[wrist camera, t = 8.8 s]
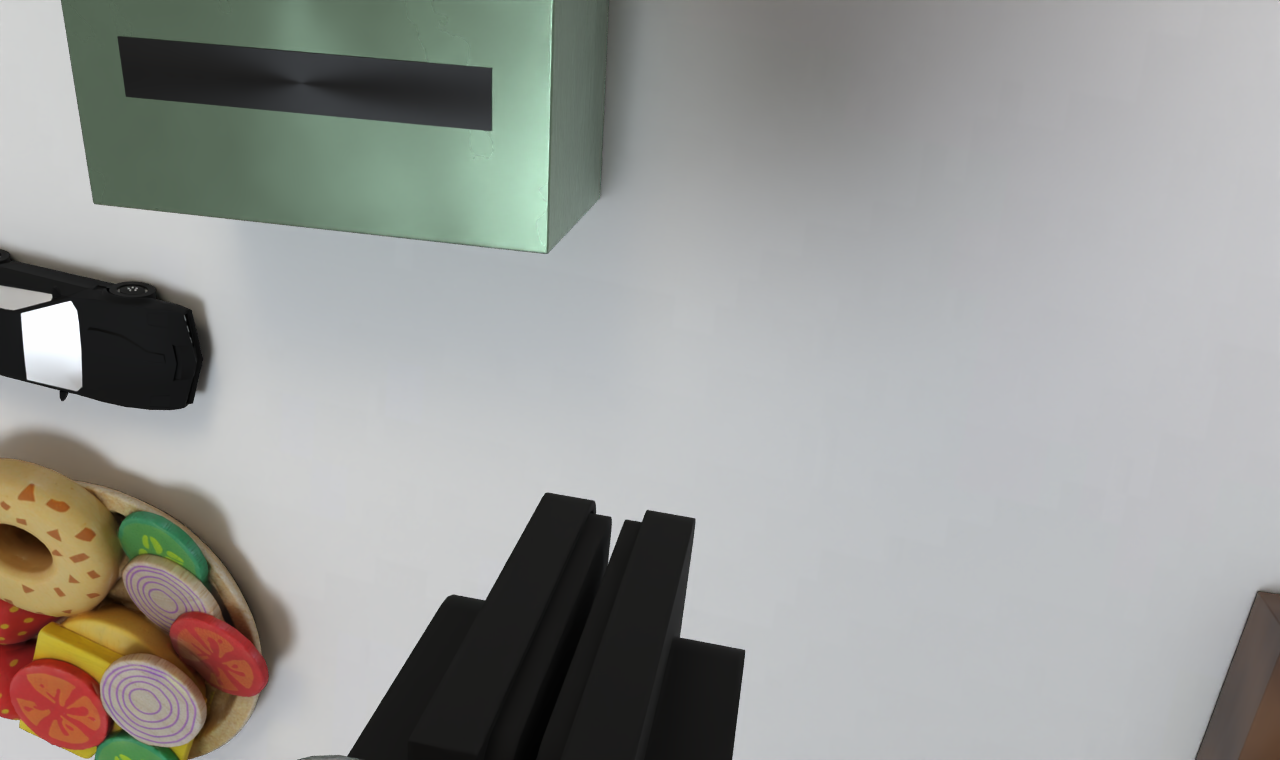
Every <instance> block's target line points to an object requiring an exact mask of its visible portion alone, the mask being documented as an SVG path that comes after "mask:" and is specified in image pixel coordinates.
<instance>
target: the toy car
mask: <svg viewBox="0 0 1280 760" xmlns="http://www.w3.org/2000/svg"><path fill="white" fill-rule="evenodd" d="M202 361H203V357H202V352H201V348H200V344H199V340H198V336H197V331H196V327H195V323H194V319H193V314H192V310H190V309H188V308H186V307H183V306H180V305H177V304H173V303H169V302H165V301H161V300H157V299H156V289H155V287H154V286H152V285H150V284H147V283H142V282H122V283H117V284H113V283H108V282H104V281H100V280H95V279H91V278H87V277H82V276H78V275H74V274H69V273H65V272H60V271H56V270H52V269H47V268H43V267H38V266H34V265H30V264H25V263H21V262H17V261H10V254H9V253H8V252H6V251H4V250H1V249H0V375H2V376H6V377H9V378H13V379H17V380H21V381H25V382H29V383H33V384H37V385H41V386H45V387H49V388H53V389H56V390H60V399H61V401H64V400H65V399H66V397H67V395H68V392H69V393H73V394H78V395H81V396H84V397H88V398H91V399H95V400H98V401H102V402H106V403H111V404H115V405H120V406H124V407H132V408H140V409H148V410H175V409H181V408H185V407H186V406H187V405H188V404H192V403H193V401H194V397H195V392H196V388H197V383H198V379H199V375H200V370H201V366H202Z"/></svg>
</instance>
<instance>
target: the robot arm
mask: <svg viewBox="0 0 1280 760" xmlns="http://www.w3.org/2000/svg"><path fill="white" fill-rule="evenodd" d="M611 526H612V519H611V517H609V516H603V515H597V514H596V504H595V501H593V500H587V499H581V498H576V497H570V496H564V495H558V494H553V493H545V494H544V496H543V497H542V499H541V501H540V503H539V504H538V506H537V508H536V510H535V512H534V513H533V515H532V517H531V519H530V521H529V523H528V524H527V526H526V528H525V530H524V532H523V533H522V535H521V537H520V539H519V541H518V542H517V544H516V546H515V548H514V550H513V551H512V553H511V555H510V557H509V559H508V560H507V562H506V564H505V566H504V568H503V570H502V571H501V573H500V575H499V577H498V579H497V580H496V582H495V584H494V586H493V588H492V589H491V591H490V593H489V595H488V597H487V598H486V600H479V599H474V598H469V597H463V596H458V595H451V596H448V597H447V598H446V599H445V601H444V602H443V603H442V604H441V606H440V608H439V609H438V611H437V612H436V614H435V616H434V617H433V619H432V620H431V622H430V624H429V625H428V627H427V629H426V630H425V632H424V633H423V635H422V637H421V638H420V640H419V641H418V643H417V645H416V646H415V648H414V649H413V651H412V653H411V654H410V656H409V658H408V659H407V661H406V662H405V664H404V666H403V667H402V669H401V670H400V672H399V674H398V675H397V677H396V679H395V680H394V682H393V683H392V685H391V687H390V688H389V690H388V691H387V693H386V695H385V696H384V698H383V699H382V701H381V703H380V704H379V706H378V708H377V709H376V711H375V712H374V714H373V716H372V717H371V719H370V720H369V722H368V724H367V725H366V727H365V729H364V730H363V732H362V733H361V735H360V737H359V738H358V740H357V741H356V743H355V745H354V746H353V748H352V749H351V751H350V753H349V754H348V756H342V755H328V756H310V757H306V758H302V759H298V760H732V756H733V748H734V739H735V731H736V723H737V715H738V707H739V699H740V691H741V683H742V675H743V667H744V658H745V650H742V649H737V648H732V647H726V646H721V645H716V644H711V643H705V642H700V641H695V640H690V639H684V638H680V632H681V625H682V617H683V610H684V603H685V596H686V589H687V581H688V574H689V567H690V560H691V552H692V545H693V538H694V530H695V518H690V517H684V516H678V515H673V514H667V513H661V512H656V511H650V510H647V511H646V513H645V515H644V518H643V521H642V522H637V521H631V520H625V522H624V524H623V526H622V529H621V532H620V534H619V537H618V540H617V542H616V545H615V548H614V550H613V553H612V556H611V558H610V561H609V563H608V557H609V547H610V538H611Z"/></svg>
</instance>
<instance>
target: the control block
mask: <svg viewBox="0 0 1280 760" xmlns="http://www.w3.org/2000/svg"><path fill="white" fill-rule="evenodd" d="M1196 760H1280V595H1279V594H1272V593H1265V592H1258V594H1257V596H1256V599H1255V602H1254V604H1253V607H1252V610H1251V612H1250V615H1249V618H1248V621H1247V623H1246V626H1245V629H1244V631H1243V634H1242V637H1241V639H1240V642H1239V645H1238V648H1237V650H1236V653H1235V656H1234V658H1233V661H1232V664H1231V666H1230V669H1229V672H1228V675H1227V677H1226V680H1225V683H1224V685H1223V688H1222V691H1221V693H1220V696H1219V699H1218V702H1217V704H1216V707H1215V710H1214V712H1213V715H1212V718H1211V720H1210V723H1209V726H1208V729H1207V731H1206V734H1205V737H1204V739H1203V742H1202V745H1201V747H1200V750H1199V753H1198V755H1197V758H1196Z"/></svg>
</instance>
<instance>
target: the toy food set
mask: <svg viewBox="0 0 1280 760" xmlns="http://www.w3.org/2000/svg"><path fill="white" fill-rule="evenodd" d="M268 678H269V674H268V667H267V665H266V661H265V660H264V658H263V656H262V652H261V645H260V640H259V635H258V631H257V628H256V625H255V622H254V619H253V616H252V614H251V612H250V609H249V607H248V605H247V603H246V601H245V599H244V597H243V595H242V593H241V591H240V589H239V588H238V586H237V584H236V582H235V581H234V579H233V578H232V576H231V574H230V573H229V572H228V570H227V569H226V567H225V566H224V565H223V563H222V562H221V561H220V560H219V558H218V557H217V556H216V555H215V554H214V553H213V552H212V551H211V550H210V548H209V547H208V546H207V545H206V544H205V543H203V542H202V541H201V540H200V539H199V538H198V537H197V536H196V535H195V534H194V533H192V532H191V531H190V530H189V529H188V528H186V527H185V526H184V525H182V524H181V523H180V522H178V521H177V520H176V519H174V518H173V517H171V516H169V515H168V514H166V513H164V512H163V511H161V510H159V509H157V508H155V507H153V506H151V505H150V504H147V503H145V502H143V501H141V500H139V499H137V498H134V497H132V496H129V495H127V494H124V493H122V492H120V491H117V490H114V489H111V488H107V487H104V486H100V485H96V484H92V483H87V482H82V481H74V480H71V479H69V478H68V477H66V476H64V475H62V474H60V473H58V472H56V471H54V470H52V469H49V468H46V467H43V466H41V465H38V464H34V463H31V462H27V461H22V460H18V459H10V458H0V716H1V717H3V718H7V719H12V720H20V724H19V728H21V729H23V730H25V731H27V732H29V733H31V734H33V735H36V736H38V737H40V738H42V739H44V740H46V741H48V742H49V743H51V744H52V745H56V746H58V747H61V748H63V749H65V750H68V751H70V752H72V753H74V754H76V755H78V756H80V757H83V758H86V759H87V758H90V757H92V756H93V755H94V754H95V753H96V754H95V760H187V759H192V758H195V757H199V756H202V755H204V754H207V753H209V752H211V751H213V750H215V749H217V748H219V747H221V746H222V745H224V744H226V743H227V742H228V741H230V740H231V739H232V738H233V737H234V736H235V735H236V734H237V733H238V732H239V731H240V730H241V729H242V728H243V727H244V725H245V724H246V723H247V721H248V720H249V718H250V716H251V714H252V712H253V710H254V708H255V706H256V703H257V700H258V697H259V693H260V692H261V691H262V690H263V688H264V687H265V686H266V684H267V682H268Z"/></svg>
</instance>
